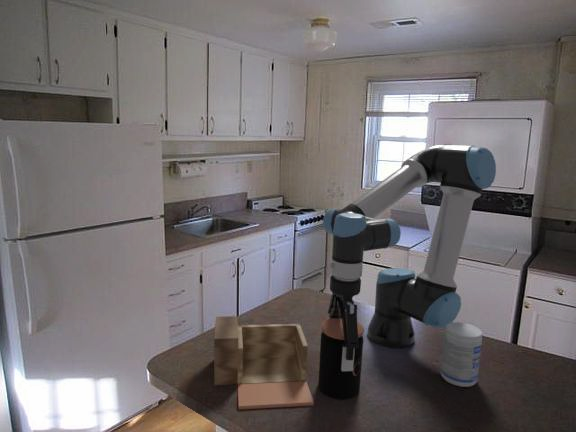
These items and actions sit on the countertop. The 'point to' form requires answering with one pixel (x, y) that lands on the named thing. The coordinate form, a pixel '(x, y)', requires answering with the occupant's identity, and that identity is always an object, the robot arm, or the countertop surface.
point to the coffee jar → (338, 362)
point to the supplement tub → (461, 354)
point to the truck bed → (258, 352)
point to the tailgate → (274, 395)
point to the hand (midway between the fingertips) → (339, 356)
